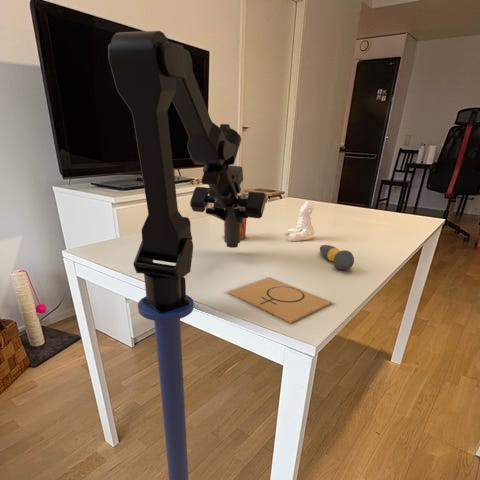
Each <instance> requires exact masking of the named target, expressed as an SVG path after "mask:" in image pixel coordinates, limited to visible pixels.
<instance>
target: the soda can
mask: <svg viewBox="0 0 480 480" xmlns="http://www.w3.org/2000/svg"><path fill="white" fill-rule="evenodd" d="M247 220H248V218H244V222H243V224H242V223H241V237H240V240H243V238H246V233H247ZM223 226H224V227H223V233H224V234H223V235H224V236H225V221H223Z"/></svg>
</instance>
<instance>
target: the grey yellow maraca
mask: <svg viewBox="0 0 480 480" xmlns="http://www.w3.org/2000/svg"><path fill="white" fill-rule="evenodd" d="M319 251H320V253H321V255H322V256H323V257H324V258H325V259H327V260H329V261H330V262H333V265H334V267H335V268H336V269H337V270H340V271H347V270H349V269H351V268H352V267H353V265H354V263H355V258H354V255H353V253H352V252H351V251H349V250H346V249H345V250H343V249H342V250H340V249H339V248H338V247H335V246H333V245H329V244H323V245H320V246H319Z"/></svg>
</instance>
